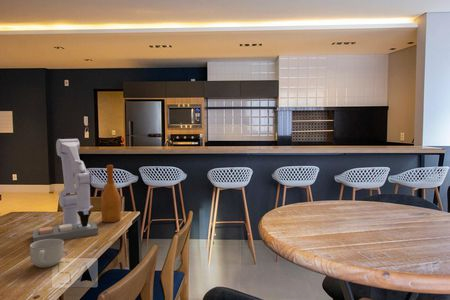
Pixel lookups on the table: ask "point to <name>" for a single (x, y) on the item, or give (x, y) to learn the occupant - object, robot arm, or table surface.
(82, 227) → the pale blue key
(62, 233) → the key console
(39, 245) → the teacup
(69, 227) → the off-white key
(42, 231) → the terracotta key
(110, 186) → the wine bottle
